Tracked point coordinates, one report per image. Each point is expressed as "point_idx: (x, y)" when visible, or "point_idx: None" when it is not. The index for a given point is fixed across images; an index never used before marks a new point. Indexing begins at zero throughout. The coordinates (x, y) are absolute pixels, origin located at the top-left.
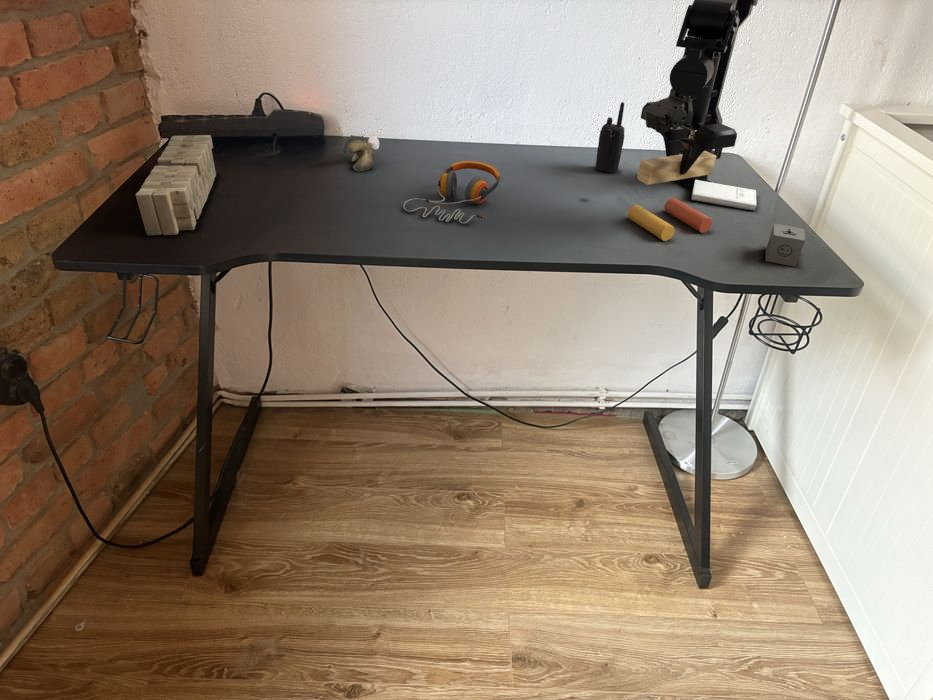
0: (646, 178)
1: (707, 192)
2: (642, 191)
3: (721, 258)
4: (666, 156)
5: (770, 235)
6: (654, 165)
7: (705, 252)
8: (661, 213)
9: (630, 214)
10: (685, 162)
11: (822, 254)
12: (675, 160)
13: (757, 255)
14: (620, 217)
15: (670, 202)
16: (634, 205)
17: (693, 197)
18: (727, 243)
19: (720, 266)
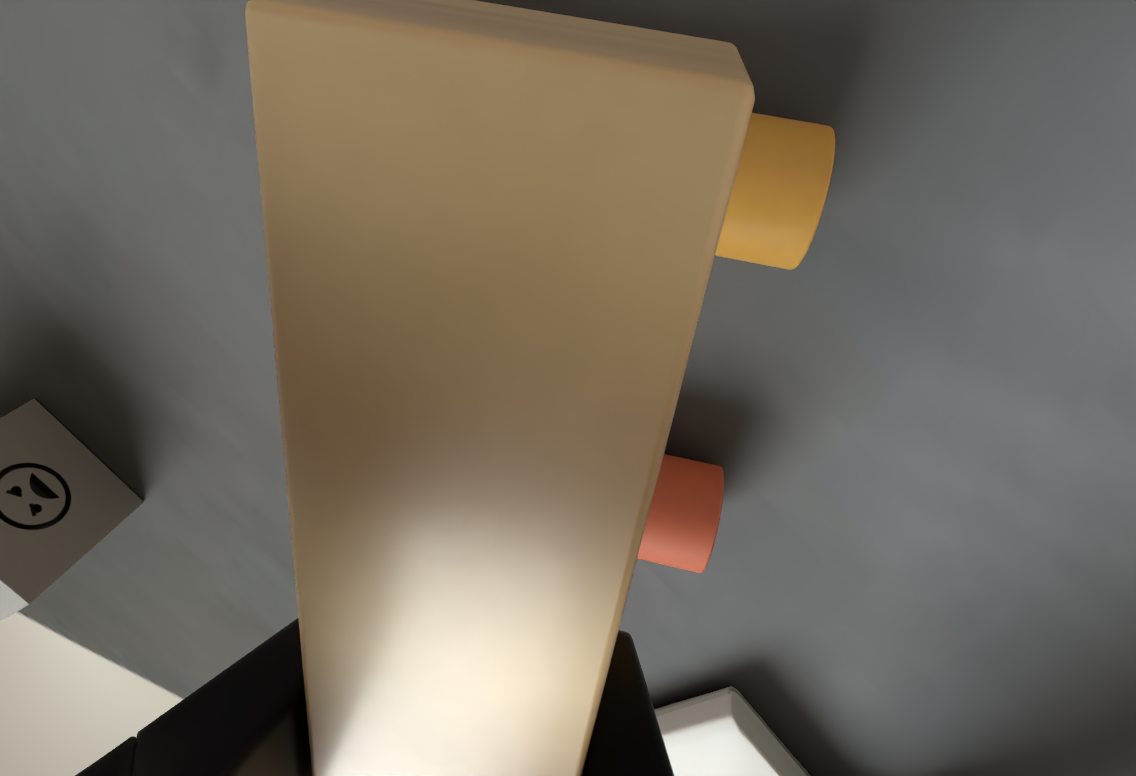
0: (462, 4)
1: (688, 771)
2: (1050, 606)
3: (94, 232)
4: (665, 765)
5: (79, 549)
6: (259, 134)
7: (179, 213)
8: (729, 436)
9: (791, 121)
10: (188, 698)
11: (61, 619)
12: (363, 686)
13: (94, 418)
14: (898, 119)
15: (687, 506)
16: (814, 200)
17: (723, 701)
18: (244, 412)
19: (4, 137)
